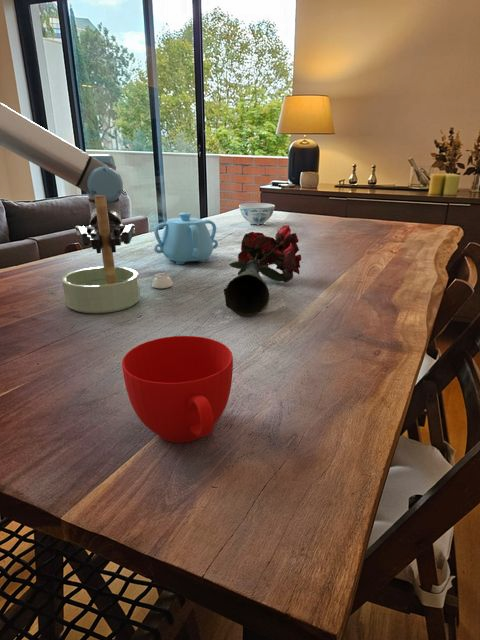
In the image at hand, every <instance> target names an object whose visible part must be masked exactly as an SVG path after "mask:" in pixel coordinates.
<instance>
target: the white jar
mask: <svg viewBox="0 0 480 640" xmlns="http://www.w3.org/2000/svg"><path fill="white" fill-rule="evenodd" d="M173 285H174V282H173V280H172V279H171V277H170V276H169V274H168V273H166V272H165V273H164V272H161V273H156V274H155V275H154V278H153V280H152V282H151V287H153V288H156V289H160V290H161V289H169V288H170V287H173Z"/></svg>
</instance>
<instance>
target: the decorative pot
mask: <svg viewBox="0 0 480 640" xmlns="http://www.w3.org/2000/svg"><path fill="white" fill-rule="evenodd" d="M191 214H192V213H190V212H180V213H178V215H179V217H173V218H168V219H167V220H166V222H159V223H157V224H156V225H155V226H154V230H153V233H154V237H155V239H156V241H157V244H155V245H154V247H153V251H154V252H155V253H156V254H163V256H164V257H165V258H166V259H167V260H170V261H173V262H175V264H176V265H184V264H185V263H186V262H197V263H204V262H206V260H207V259H209V258H210V257H211V255H212V254H213V252H214V249H217V248H218V246H219V242H218V241H217V240H216V239H215V237H216V233H217V225H216V223H215V222H214V221H213V220H209V219H204V220H203V219H201V218H199V217H191ZM208 224H210V225H211V227H212V228H211V229H212V230H211V233H210V231H209V229H208V227H207V225H208ZM162 227H163V230H162V233H161V237H160V233H159V230H160V228H162ZM213 243H214V244H213ZM158 247H159V249H158Z"/></svg>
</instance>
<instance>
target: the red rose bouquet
mask: <svg viewBox="0 0 480 640" xmlns="http://www.w3.org/2000/svg"><path fill="white" fill-rule="evenodd" d="M291 232H292V230H291V227H290V226H289V224H285V225H284V224H283V225H282V227H280V228H279V229H278V228H277V232H276V234H275V237H273V236H268V235H265V234H264V233H263V232H259V231H258V232H257V231H255V232H254V231H250V232H248V233H245V234H244V235H243V238H242V240H241V244H240V252H239V253H238V254H237V261H233V262H231V263H229V266H230V267H231V268H234V269H237V270H239V271H238V272H237V275H236V276H235V277H233V278H232V279H231V280H230V281H229V282H228V283H227V285H226V287H225V288H223V294H224V300H225V306H226V308H228V309H230V310H231V311H232V312H233V313H235V315H237V316H241V317H244V318H245V317H246V318H251V317H256V316H257V315H259V314H261V313H262V312H264V311H265V310H266V309H267V307H268V305H269V302H270V290H269V287H268V285H267V284H266V282H265V281H264V279H263V278H262V276H261V275H263V276H264V277H266V278H268V279H270V280H272V281H275V282H280V281H281V282H283V283H288V282H290V281H291V280H293V278H294V273H296V274H297V275H300V268H301V261H302V254H301V253H300V254H297V253H298V252H299V251H300V248H299V246H298V243H299V238H298V235H297V233H296V232H295V233H294V232H293V233H291ZM296 254H297V255H296ZM271 265H276V267H275V269H276V270H275V269H274V268H272V267H270V266H271ZM278 270H279V271H281V273H280V272H278ZM260 274H261V275H260Z"/></svg>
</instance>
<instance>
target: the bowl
mask: <svg viewBox="0 0 480 640" xmlns="http://www.w3.org/2000/svg"><path fill="white" fill-rule="evenodd" d="M115 274H116V282H117V283H115V284H109V285H104V284H106V280H105V272H104V266H96V267H89V268H81V269H77V270H74V271H71V272H69V273H67V274H64V276H62V277H61V283H62V290H63V295H64V300H65V306H66V307H68V308H69V309H70V310H73V311H76V312H79V313H83V314H107V313H114V312H119V311H123V310H126V309H128V308H131V307H133V306H135V304H137V303H138V302H139V301H140V299H141V296H142V295H141V289H140V288H141V287H140V277H139V273H138V271H136V270H134V269H132V268H128V267H123V266H115Z"/></svg>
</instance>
